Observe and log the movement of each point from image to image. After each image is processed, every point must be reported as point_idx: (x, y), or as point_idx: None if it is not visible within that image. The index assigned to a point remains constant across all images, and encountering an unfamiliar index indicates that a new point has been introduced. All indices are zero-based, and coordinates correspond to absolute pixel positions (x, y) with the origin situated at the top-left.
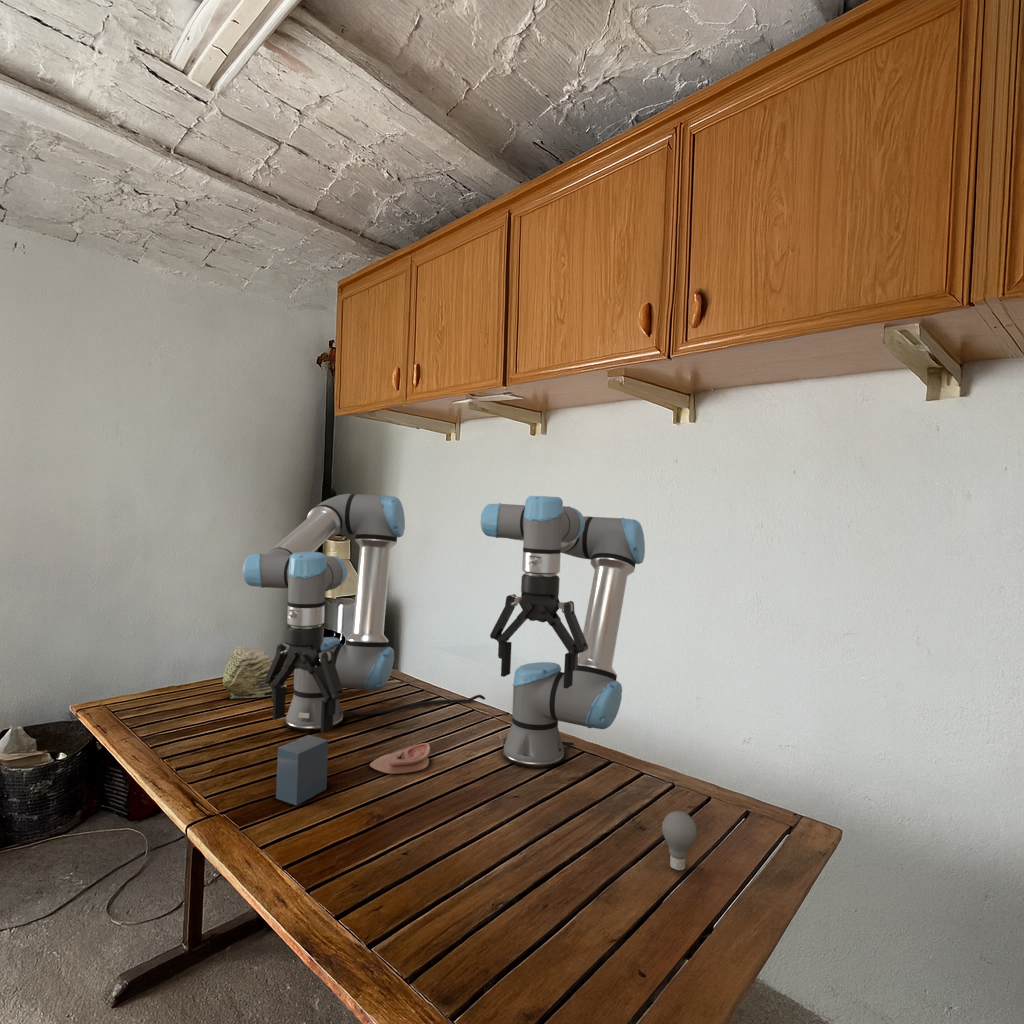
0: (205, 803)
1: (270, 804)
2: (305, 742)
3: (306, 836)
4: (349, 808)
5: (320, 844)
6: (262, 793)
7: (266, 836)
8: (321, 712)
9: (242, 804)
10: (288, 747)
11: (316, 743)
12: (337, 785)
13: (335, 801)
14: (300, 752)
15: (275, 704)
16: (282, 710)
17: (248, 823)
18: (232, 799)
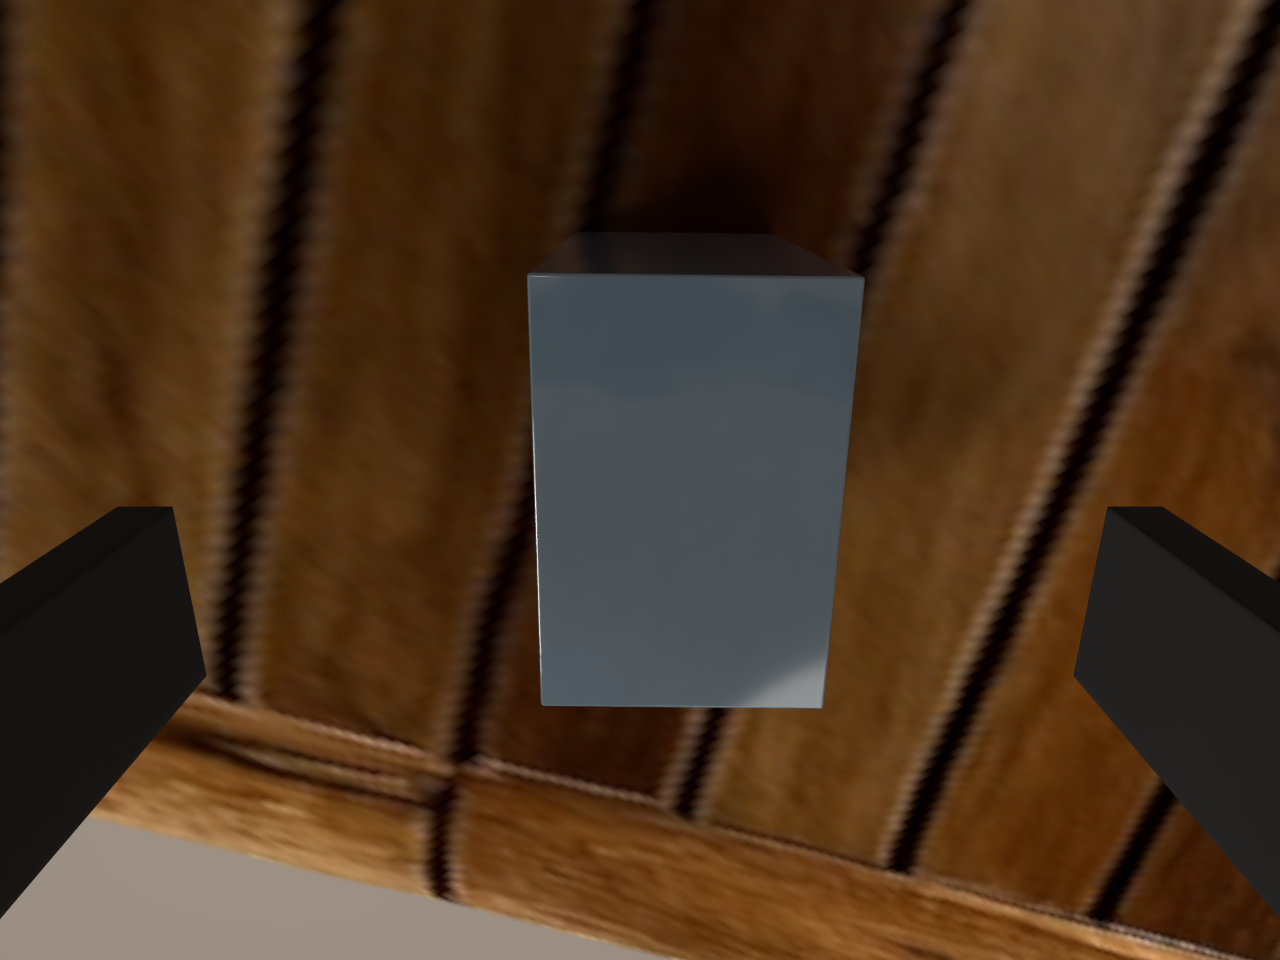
0: (293, 736)
1: None
2: (678, 472)
3: (1034, 714)
4: (1088, 369)
5: None
6: (448, 503)
7: (848, 800)
8: (1261, 894)
9: (470, 651)
10: (625, 653)
11: (807, 431)
12: (804, 134)
13: (945, 343)
14: (821, 680)
15: (54, 842)
16: (119, 603)
17: (672, 763)
18: (369, 639)
